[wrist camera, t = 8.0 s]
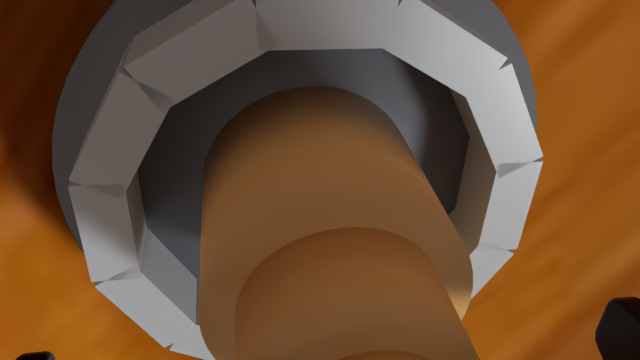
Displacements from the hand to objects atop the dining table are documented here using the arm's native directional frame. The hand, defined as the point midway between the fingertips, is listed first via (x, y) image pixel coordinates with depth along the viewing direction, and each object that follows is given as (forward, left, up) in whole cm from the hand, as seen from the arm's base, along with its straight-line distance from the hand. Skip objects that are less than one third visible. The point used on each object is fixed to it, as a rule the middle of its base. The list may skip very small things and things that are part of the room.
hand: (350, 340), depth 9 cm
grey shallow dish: (0, 0, -6) cm, 6 cm away
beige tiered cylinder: (0, 0, -5) cm, 5 cm away
